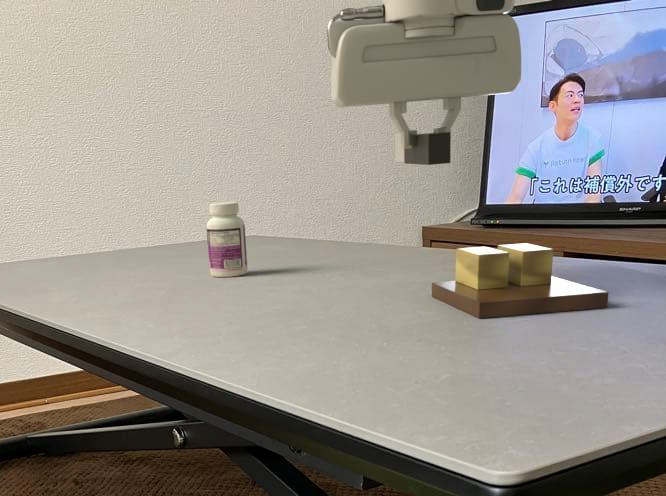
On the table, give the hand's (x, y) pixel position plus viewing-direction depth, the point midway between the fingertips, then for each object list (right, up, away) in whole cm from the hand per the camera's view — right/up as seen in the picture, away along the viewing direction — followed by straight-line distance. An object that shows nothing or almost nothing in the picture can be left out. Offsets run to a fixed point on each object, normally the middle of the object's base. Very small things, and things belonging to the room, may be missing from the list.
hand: (425, 146), depth 99 cm
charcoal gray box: (0, 0, +5) cm, 5 cm away
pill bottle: (-23, -6, +29) cm, 37 cm away
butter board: (+8, -18, -5) cm, 21 cm away
